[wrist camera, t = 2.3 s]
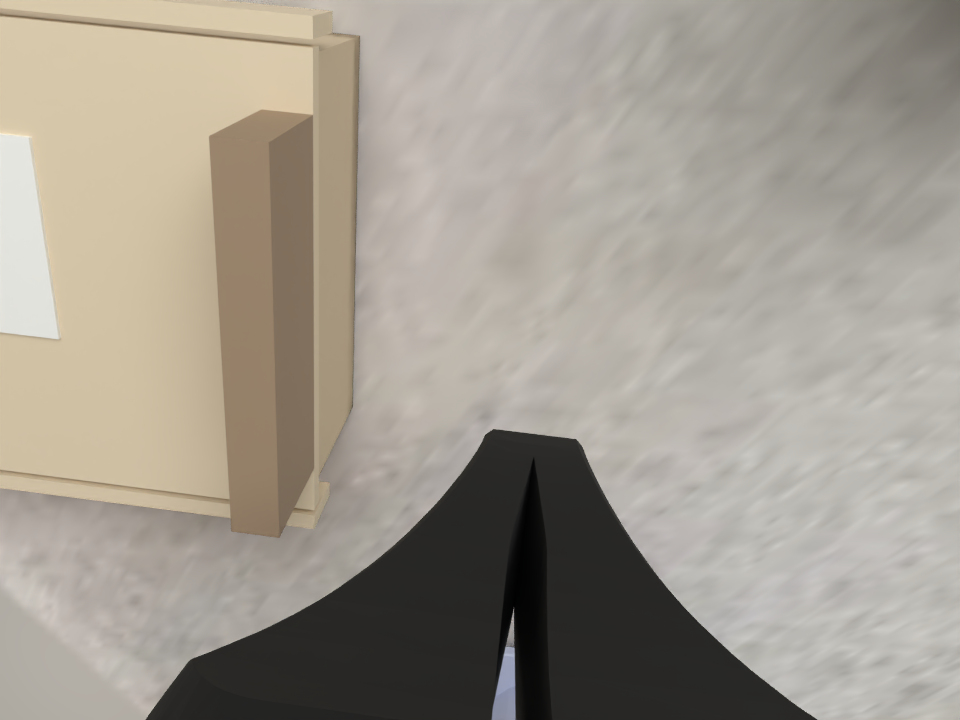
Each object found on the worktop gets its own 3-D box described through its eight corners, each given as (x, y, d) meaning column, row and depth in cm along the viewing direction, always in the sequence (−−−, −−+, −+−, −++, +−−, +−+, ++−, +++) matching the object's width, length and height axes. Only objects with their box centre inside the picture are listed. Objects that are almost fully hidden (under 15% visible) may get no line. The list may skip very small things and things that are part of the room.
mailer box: (352, 407, 24) (314, 485, 21) (-115, 349, 25) (-230, 416, 21) (359, 35, 20) (312, 53, 16) (-207, -21, 21) (-372, -15, 17)
